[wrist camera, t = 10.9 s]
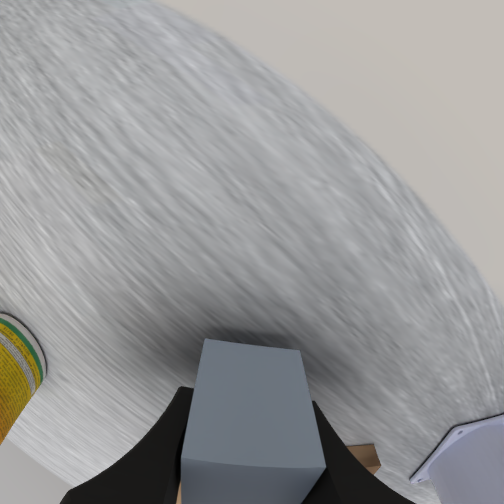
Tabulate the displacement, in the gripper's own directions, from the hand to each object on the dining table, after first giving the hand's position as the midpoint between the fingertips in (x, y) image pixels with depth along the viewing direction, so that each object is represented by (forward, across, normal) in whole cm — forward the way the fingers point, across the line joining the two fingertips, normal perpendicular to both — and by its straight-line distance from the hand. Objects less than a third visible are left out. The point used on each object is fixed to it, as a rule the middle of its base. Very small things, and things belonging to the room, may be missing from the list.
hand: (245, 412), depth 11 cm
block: (+2, 0, 0) cm, 2 cm away
